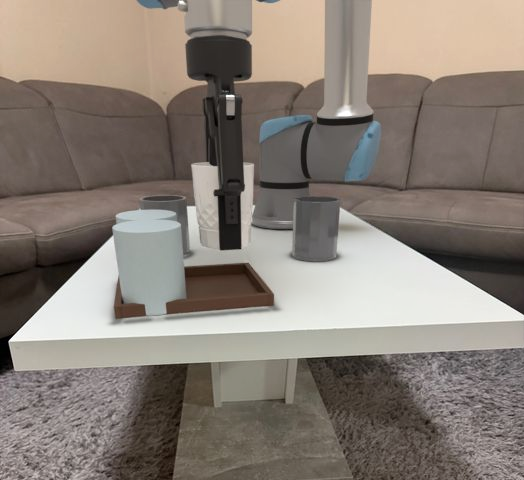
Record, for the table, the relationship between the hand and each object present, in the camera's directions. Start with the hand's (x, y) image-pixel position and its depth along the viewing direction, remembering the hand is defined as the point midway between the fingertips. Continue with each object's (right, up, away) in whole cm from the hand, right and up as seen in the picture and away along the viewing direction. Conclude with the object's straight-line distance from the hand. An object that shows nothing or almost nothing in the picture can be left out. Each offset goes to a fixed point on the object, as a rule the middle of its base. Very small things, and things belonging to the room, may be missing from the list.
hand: (225, 241), depth 61 cm
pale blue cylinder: (-9, -9, -3) cm, 13 cm away
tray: (-5, -7, +2) cm, 9 cm away
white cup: (0, 0, 0) cm, 0 cm away
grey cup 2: (+15, +3, +22) cm, 27 cm away
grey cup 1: (-12, +3, +23) cm, 26 cm away
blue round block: (-11, -5, +4) cm, 13 cm away
